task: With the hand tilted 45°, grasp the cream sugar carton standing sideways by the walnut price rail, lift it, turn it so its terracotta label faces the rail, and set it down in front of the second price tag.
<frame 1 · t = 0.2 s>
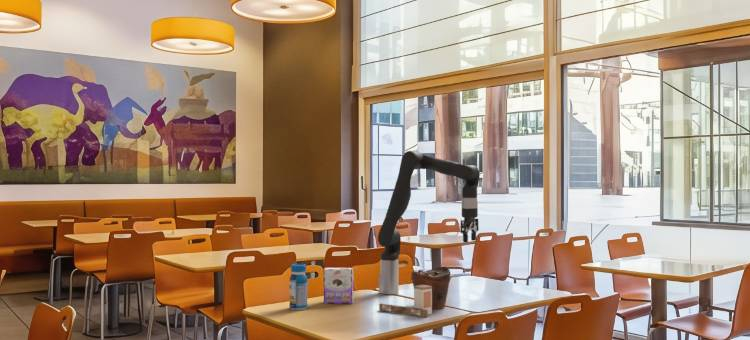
hand: (469, 241, 307), 29 cm above the table, tool pointing down, fingers open, 8 cm apart
sugar carton: (423, 313, 284), on the table
price rail: (402, 313, 284), on the table
candy box: (338, 303, 308), on the table
beverage bottle: (298, 308, 294), on the table
brown round rimmed container: (430, 306, 299), on the table
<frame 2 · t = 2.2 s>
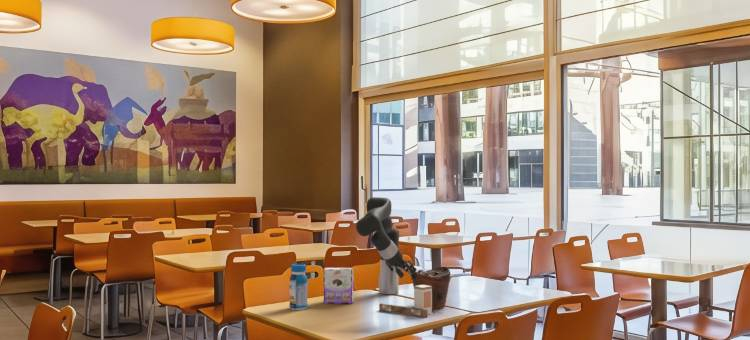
hand: (409, 277, 278), 17 cm above the table, tool tilted 45°, fingers open, 8 cm apart
nothing on the table moved.
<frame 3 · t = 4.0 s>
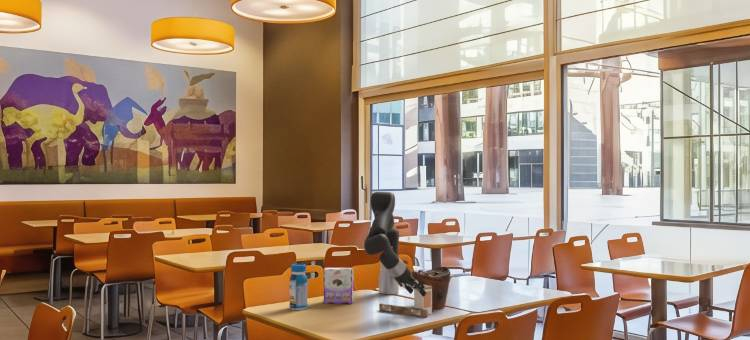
hand: (418, 293, 283), 9 cm above the table, tool tilted 45°, fingers open, 8 cm apart
nothing on the table moved.
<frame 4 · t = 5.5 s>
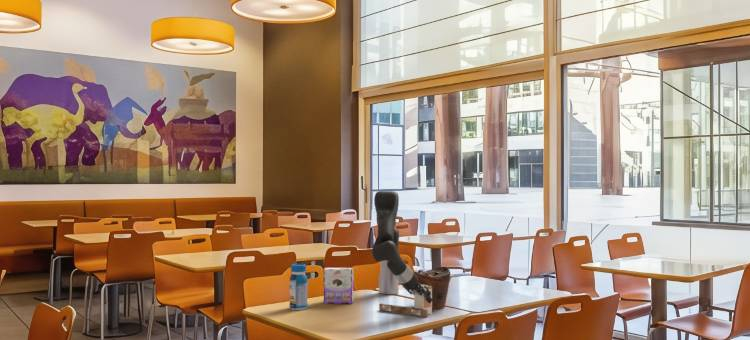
hand: (426, 300, 285), 5 cm above the table, tool tilted 45°, fingers closed on sugar carton, 5 cm apart
sugar carton: (423, 313, 284), on the table, touching gripper
everything else where it was.
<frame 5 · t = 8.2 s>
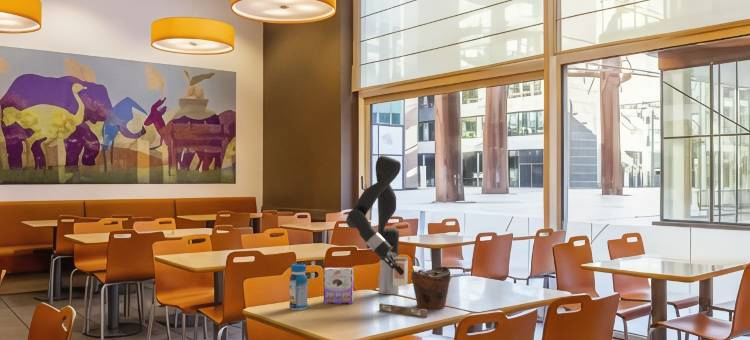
hand: (404, 272, 292), 17 cm above the table, tool tilted 45°, fingers closed on sugar carton, 5 cm apart
sugar carton: (400, 284, 292), point 11 cm above the table, touching gripper
everything else where it was.
when the fingers open (7 cm above the table, at t = 11.2 s): sugar carton drops 1 cm, on the table.
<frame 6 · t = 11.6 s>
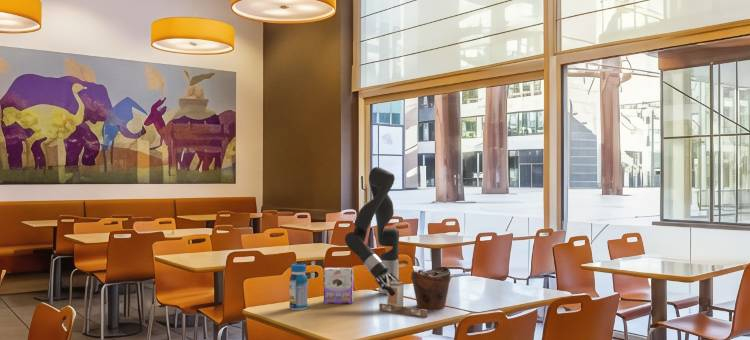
hand: (398, 293, 293), 7 cm above the table, tool tilted 45°, fingers open, 8 cm apart
sugar carton: (395, 308, 294), on the table
everything else where it was.
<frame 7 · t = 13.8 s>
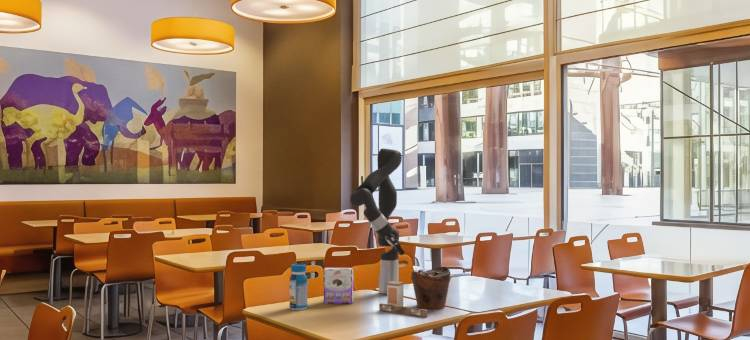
hand: (400, 252, 304), 24 cm above the table, tool tilted 35°, fingers open, 8 cm apart
nothing on the table moved.
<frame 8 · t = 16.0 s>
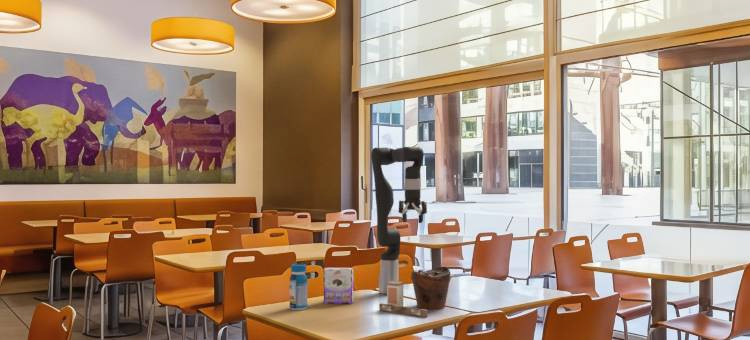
hand: (412, 222, 308), 38 cm above the table, tool pointing down, fingers open, 8 cm apart
nothing on the table moved.
at the end: sugar carton inside the target area (0.1 cm from its centre), on the table; sugar carton tilted 0°; the gripper is holding nothing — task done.
